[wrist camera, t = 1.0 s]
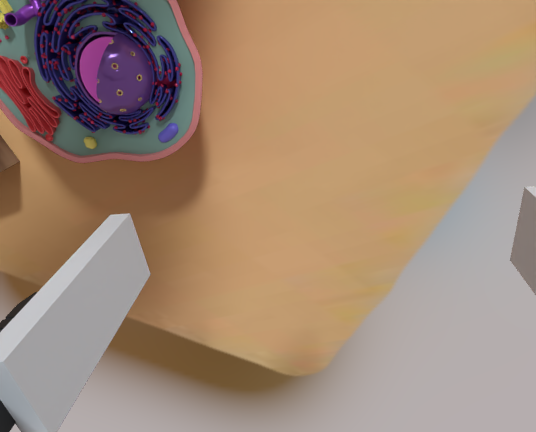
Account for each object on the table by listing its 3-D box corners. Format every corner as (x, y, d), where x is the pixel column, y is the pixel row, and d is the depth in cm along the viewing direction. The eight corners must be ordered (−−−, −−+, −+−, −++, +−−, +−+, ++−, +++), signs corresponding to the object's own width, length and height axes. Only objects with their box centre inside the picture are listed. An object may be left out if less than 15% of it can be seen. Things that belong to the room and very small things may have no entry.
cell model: (21, -89, 33) (-103, -126, 23) (246, -8, 34) (217, -11, 25) (22, 102, 42) (-69, 135, 32) (203, 163, 43) (169, 212, 33)
